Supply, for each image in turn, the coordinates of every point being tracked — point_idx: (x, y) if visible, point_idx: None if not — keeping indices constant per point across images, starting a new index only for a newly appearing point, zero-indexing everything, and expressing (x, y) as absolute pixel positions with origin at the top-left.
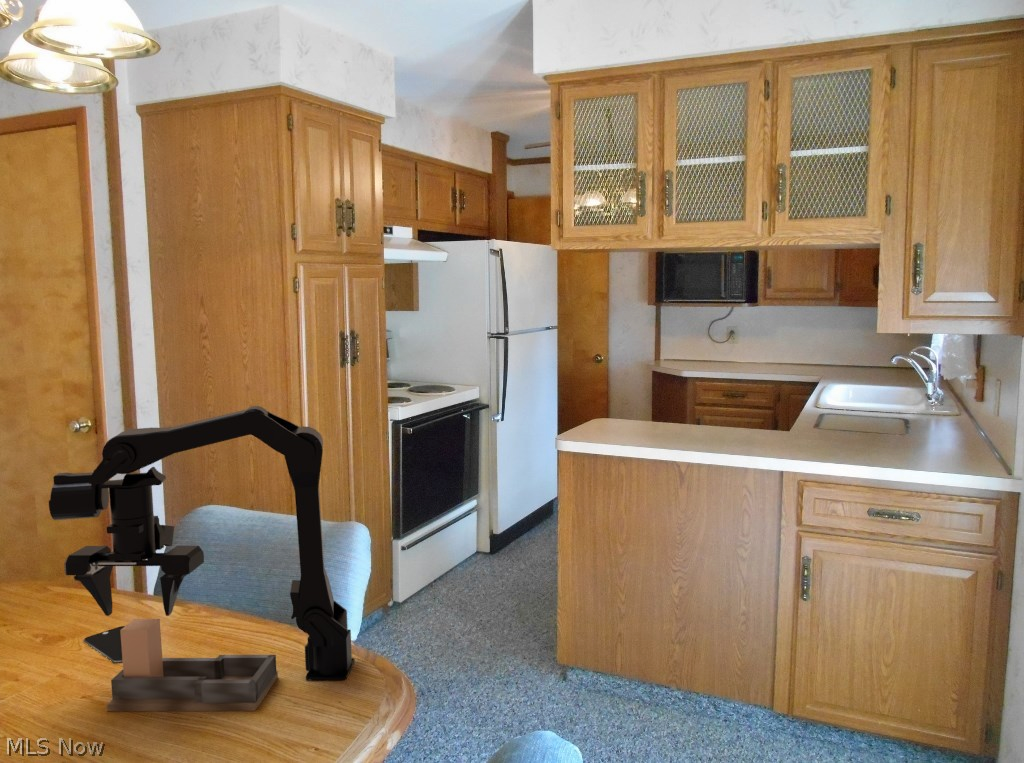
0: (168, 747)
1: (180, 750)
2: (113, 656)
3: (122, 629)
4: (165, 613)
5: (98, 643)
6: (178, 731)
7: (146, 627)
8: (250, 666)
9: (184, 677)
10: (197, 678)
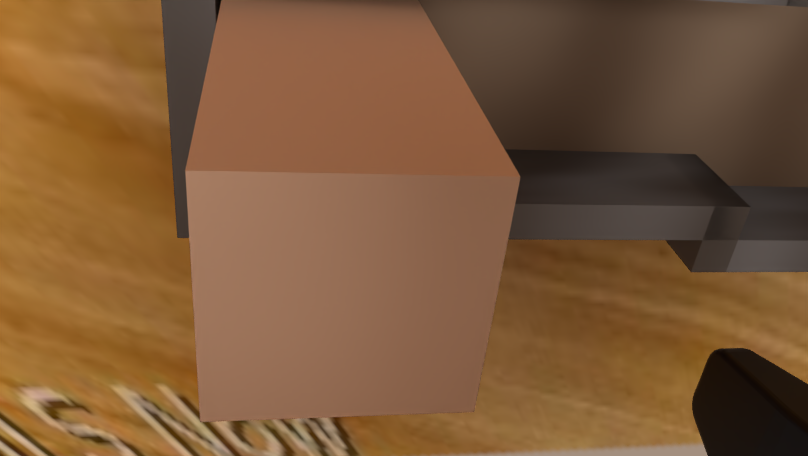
0: (579, 420)
1: (623, 431)
2: None
3: (215, 410)
4: (706, 446)
5: None
6: (591, 341)
7: (449, 366)
8: None
9: (626, 213)
10: (701, 226)
